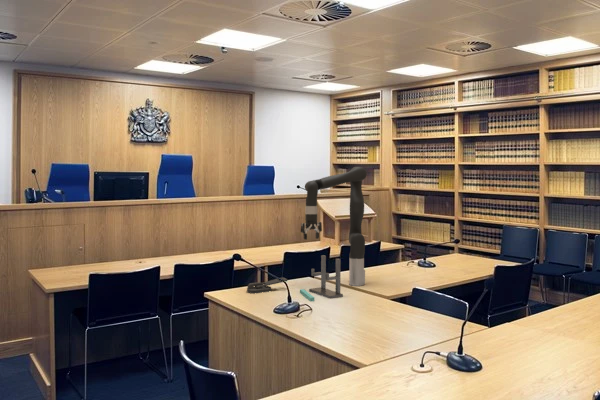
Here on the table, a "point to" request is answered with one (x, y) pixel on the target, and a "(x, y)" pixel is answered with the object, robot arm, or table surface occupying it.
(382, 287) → the table surface
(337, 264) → the hook rack
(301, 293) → the teal rail
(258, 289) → the dark grey elongated piece
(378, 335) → the table surface
